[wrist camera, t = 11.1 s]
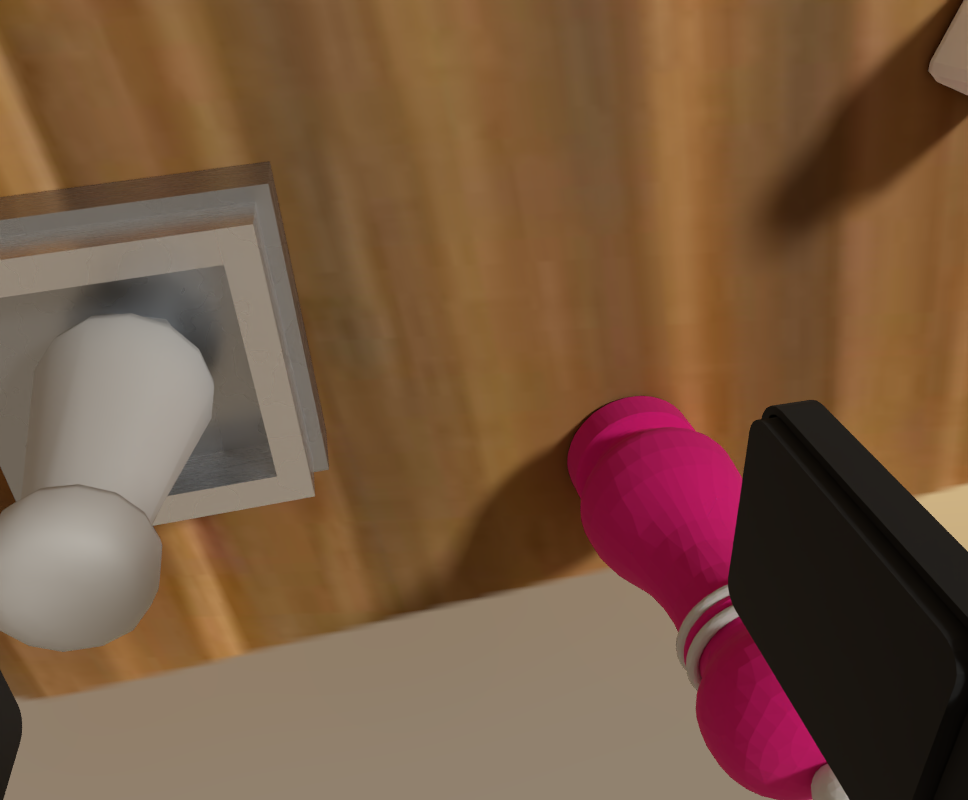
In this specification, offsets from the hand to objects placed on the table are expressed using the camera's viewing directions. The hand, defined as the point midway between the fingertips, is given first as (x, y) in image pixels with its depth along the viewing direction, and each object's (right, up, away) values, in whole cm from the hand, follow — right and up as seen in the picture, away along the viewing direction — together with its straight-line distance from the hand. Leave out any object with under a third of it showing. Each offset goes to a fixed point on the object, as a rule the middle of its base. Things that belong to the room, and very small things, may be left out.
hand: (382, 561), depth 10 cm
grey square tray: (-12, +5, +24) cm, 28 cm away
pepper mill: (+8, 0, +32) cm, 33 cm away
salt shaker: (-12, +3, +22) cm, 25 cm away
